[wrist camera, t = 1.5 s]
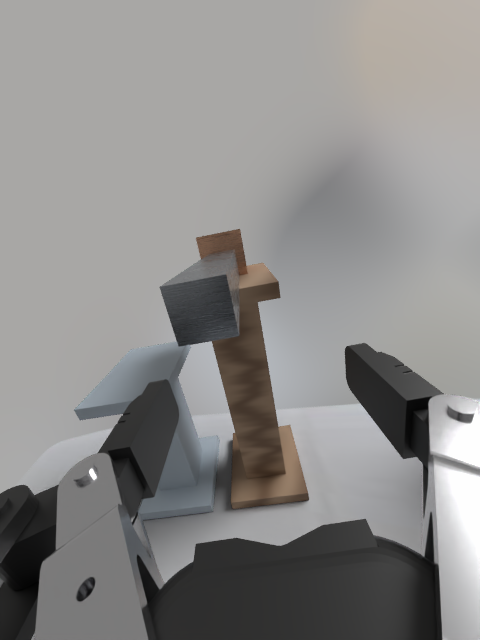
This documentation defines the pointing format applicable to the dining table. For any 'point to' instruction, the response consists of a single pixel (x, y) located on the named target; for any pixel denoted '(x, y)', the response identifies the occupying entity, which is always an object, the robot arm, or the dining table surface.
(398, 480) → the dining table surface
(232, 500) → the tall walnut post
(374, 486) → the dining table surface
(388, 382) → the robot arm
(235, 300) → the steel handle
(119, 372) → the low grey shelf
